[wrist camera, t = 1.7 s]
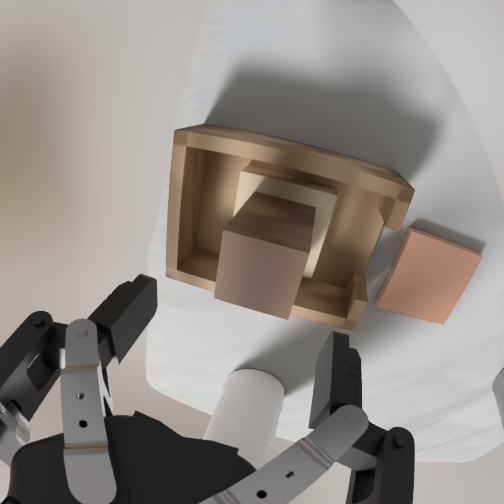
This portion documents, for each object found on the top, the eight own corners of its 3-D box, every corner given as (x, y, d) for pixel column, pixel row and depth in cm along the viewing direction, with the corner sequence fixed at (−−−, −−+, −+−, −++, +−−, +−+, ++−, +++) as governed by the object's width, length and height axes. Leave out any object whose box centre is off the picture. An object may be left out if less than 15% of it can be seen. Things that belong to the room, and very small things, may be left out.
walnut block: (315, 207, 21) (309, 253, 15) (300, 260, 23) (288, 319, 17) (254, 191, 21) (222, 229, 15) (244, 245, 23) (213, 297, 17)
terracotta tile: (477, 252, 21) (481, 257, 20) (441, 318, 25) (443, 324, 24) (408, 226, 22) (411, 231, 21) (375, 301, 26) (376, 307, 25)
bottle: (293, 400, 36) (236, 607, 10) (242, 404, 39) (173, 585, 14) (271, 364, 33) (189, 608, 8) (216, 369, 36) (121, 575, 11)
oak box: (398, 172, 21) (414, 189, 16) (351, 294, 27) (353, 330, 22) (203, 124, 22) (174, 130, 18) (189, 249, 28) (165, 276, 24)
